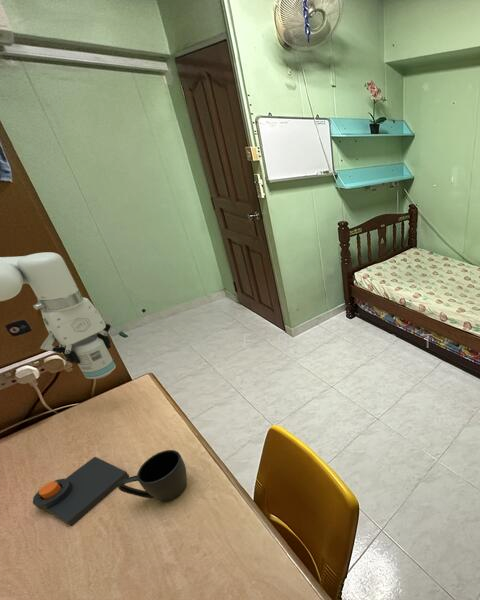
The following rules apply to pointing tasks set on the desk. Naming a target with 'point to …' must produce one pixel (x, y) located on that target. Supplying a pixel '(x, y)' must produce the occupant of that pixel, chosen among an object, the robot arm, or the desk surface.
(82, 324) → the robot arm
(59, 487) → the button
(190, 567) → the desk surface
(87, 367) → the white supplement bottle
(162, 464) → the mug
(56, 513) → the scale
